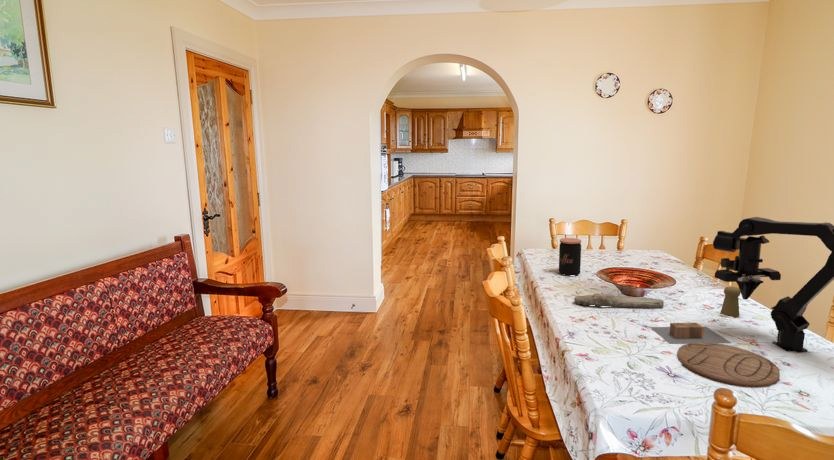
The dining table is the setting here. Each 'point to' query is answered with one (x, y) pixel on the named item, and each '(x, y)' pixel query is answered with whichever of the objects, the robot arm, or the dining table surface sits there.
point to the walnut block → (686, 330)
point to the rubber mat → (708, 337)
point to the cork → (731, 302)
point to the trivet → (728, 364)
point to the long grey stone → (618, 301)
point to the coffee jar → (570, 256)
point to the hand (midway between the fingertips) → (745, 299)
